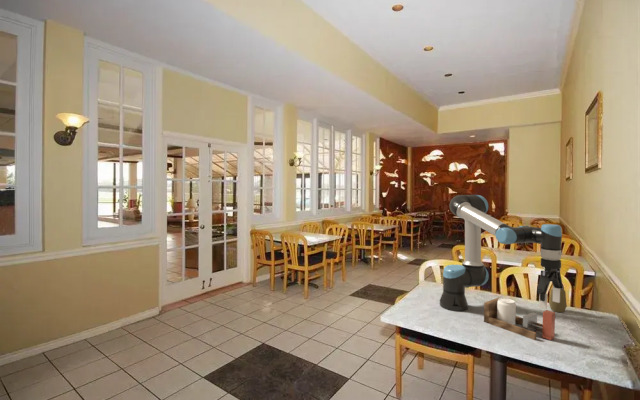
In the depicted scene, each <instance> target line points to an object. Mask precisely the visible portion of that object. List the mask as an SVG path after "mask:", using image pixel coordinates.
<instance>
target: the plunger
mask: <svg viewBox="0 0 640 400" xmlns="http://www.w3.org/2000/svg"><path fill="white" fill-rule="evenodd" d="M522 318H523V325H522V328H524V329H527V330H530V331H533V332H535V331H539V330H542V331H541V332H542V333H541V336H542V338H543V339H546V340H549V341H553V340H554V339H555V327H556V325H555V324H556V312H555V311H552V310H548V309H545V310H543V311H542V324H543V327H541V326H537V323H538V313H536V312H534V311H533V312H529V313H527V314H526V315H523V316H522ZM537 329H539V330H537Z"/></svg>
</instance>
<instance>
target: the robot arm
mask: <svg viewBox="0 0 640 400" xmlns="http://www.w3.org/2000/svg"><path fill="white" fill-rule="evenodd" d="M448 206H449V210H450V212H451V213H452V214H453V215H455V216H456V217H457V218H460V219H463V220H464V260H463V261H462V262H461V263H462V264H449V265H446V266H445V267H444V268H443V273H442V277H443V278H442V281H443V283H442V293H441V296H440V298H439V306H440V307H441V308H443V309H445V310H448V311H455V312H463V311H467V310H468V308H469V303H468V301H467V296H466V292H465V291H466V288H474V287H476V288H477V287H482V286H484V285H486V284H487V282H488V280H489V271H488V270H487V268H486V267H485V264H484V263H483V262H482V230H484V231H486V232H488V233H489V234H491V235H493V236H495V239H496V240H497V242H498V243H500V244H503V245H513V244H525V243H527V244H528V243H533V244H539V245H540V267H542V268H544V270H543V269H542V270H541V271H540V277H539V281H538V285H537V290H536V293H538V294H539V297H538V298H539V299H538V300H539V301H538V302H539V304H538V305H539V306H538V307H539V308H542V309H545V310H548V308H547V307H548V293H547V291H548V289H549V286H550V284H551V283H552V288H553V301H554V302H558V303H560V288H561V289H562V288H563V289H564V285H563V279H562V276H561V268H562V260H561V259H562V255H563V252H562V241H563V240H562V238H563V232H562V231H563V230H562V226H561V225H559V224H551V223H547V224H542V225H541V227H535V226H529V225H519V226H518V227H517V226H516V227H513V226H511V225H508V224H506V223H505V222H503V221H501V220H499V219H497V218H495V217H493V216H491V215H489V214H487V212H488V210H489V202H488V200H487V199H486V198H485V197H484V196H482V195H479V194H458V195H455V196H453V198H451V199H450V201H449V205H448ZM553 286H554V287H555V288H554V287H553Z"/></svg>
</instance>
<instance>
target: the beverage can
mask: <svg viewBox="0 0 640 400" xmlns="http://www.w3.org/2000/svg"><path fill="white" fill-rule="evenodd" d="M498 298H499V299H498V301H497V319H498V320H501V321H504V322H507V323H510V324H512V325H515V326H516V323H515V318H516V316H517V314H516V312H517V311H516V308H517V304H516V301H515V300H514V299H510V298H507V297H498Z"/></svg>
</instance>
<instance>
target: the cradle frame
mask: <svg viewBox="0 0 640 400" xmlns="http://www.w3.org/2000/svg"><path fill="white" fill-rule="evenodd" d="M499 298H500V297H497V298H494V299H490V300H488V301H484V303H483V306H484V307H483V308H484V309H483V322H484V323H486V324H489V325H491V326H495V327H496V328H500V329H503V330H506V331H509V332H512V333H514V334H517V335H520V336H522V337H525V338H529V339H531V340H533V341H535V340H536V339H537V332H535V331H530V330H527V329H524V328H523V327H521V326H523V317H520V316H518V315H516V318H515V325H512V324H510V323H507V322H504V321H501V320H498V319H497V301H498V299H499ZM516 324H519V325H521V326H518V325H516ZM537 326H541V327H543V323H539V322H537ZM536 331H539V332H542V330H539V329H537V330H536Z"/></svg>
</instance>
